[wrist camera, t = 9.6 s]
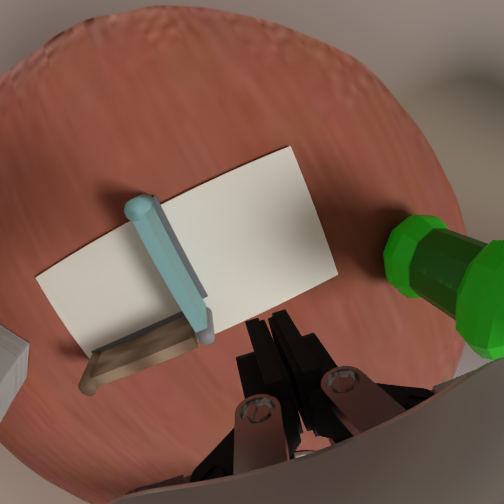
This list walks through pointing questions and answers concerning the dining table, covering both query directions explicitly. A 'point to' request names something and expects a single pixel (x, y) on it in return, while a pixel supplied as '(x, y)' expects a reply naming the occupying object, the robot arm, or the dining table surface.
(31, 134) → the dining table surface
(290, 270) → the card
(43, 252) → the dining table surface
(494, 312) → the plastic bottle
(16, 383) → the supplement box
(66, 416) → the dining table surface
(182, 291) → the teal bar
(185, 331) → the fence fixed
